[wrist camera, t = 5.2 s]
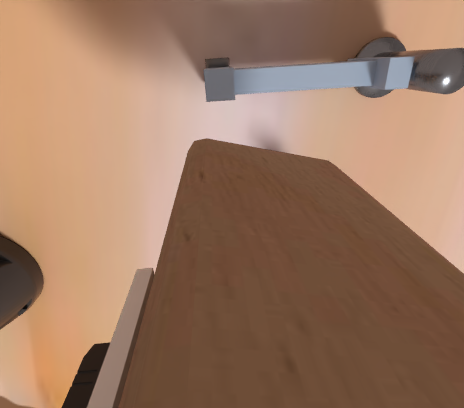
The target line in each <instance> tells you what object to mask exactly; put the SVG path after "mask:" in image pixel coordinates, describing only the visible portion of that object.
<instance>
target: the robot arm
mask: <svg viewBox="0 0 464 408" xmlns="http://www.w3.org/2000/svg"><path fill="white" fill-rule="evenodd" d="M153 279H154V271H153V268H146V269H137V271H136V274H135V276H134V279H133V282H132V285H131V287H130V290H129V293H128V296H127V298H126V301H125V304H124V307H123V309H122V312H121V315H120V318H119V321H118V323H117V326H116V329H115V332H114V334H113V337H112V340H111V343H101V344H94V345H93V346H92V348H91V349H90V350H89V351H88V353H87V354H86V355H85V356H84V358H83V360H82V362H81V365H80V367H79V369H78V371H77V372H78V373H77V374H76V376H75V378H74V381H73V383H72V387H70V390H69V392H68V394H67V397H66V399H65V401H64V404H63V406H62V408H119V404H120V401H121V397H122V393H123V389H124V386H125V382H126V378H127V375H128V371H129V367H130V364H131V360H132V356H133V353H134V349H135V345H136V342H137V338H138V334H139V330H140V327H141V323H142V319H143V316H144V312H145V308H146V305H147V301H148V297H149V294H150V290H151V286H152V283H153ZM43 283H44V281H43V275H42V272H41V270H40V268H39V266H38V264H37V263H36V261H35V260H34V259H33V258H32V257H31V256H30V254H28V253H27V252H26V251H25V250H24V249H23V248H21V247H20V246H18V245H17V244H15V243H13V242H12V241H10V240H8V239H6V238H3V237H1V236H0V329H2V328H3V327H5V326H6V325H7V324H9V323H10V322H12V321H13V320H14V319H16V318H17V317H18V316H20V315H21V314H23V313H24V312H25V311H27V310H28V309H29V308H30V307H31V306H32V304H33V303H34V302H35V300H36V299H37V298H38V296H39V295H40V294H41V292H42V289H43Z"/></svg>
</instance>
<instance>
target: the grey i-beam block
mask: <svg viewBox="0 0 464 408" xmlns="http://www.w3.org/2000/svg"><path fill="white" fill-rule="evenodd" d="M414 58H415V56H411V57H375V58H354V59H348V61H344V62H328V63H313V64H297V65H282V66H266V67H250V68H235V69H234V68H232V67H229V58H217V59H205V62H206V69H204V79H205V90H206V101H207V102H210V101H225V100H235V95H237V94H252V93H267V92H282V91H297V90H312V89H327V88H342V87H357V86H364V87H371V88H377V89H383V90H389V89H404V88H408V84H409V80H410V75H411V71H412V67H413V62H414Z"/></svg>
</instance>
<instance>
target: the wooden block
mask: <svg viewBox="0 0 464 408" xmlns="http://www.w3.org/2000/svg"><path fill="white" fill-rule="evenodd" d="M119 408H464V274H463V273H462V272H461V271H460V270H459V269H457V268H456V267H455V266H454V265H453V264H451V263H450V262H449V261H448V260H447V259H446V258H444V257H443V256H442V255H441V254H440V253H438V252H437V251H436V250H435V249H434V248H433V247H431V246H430V245H429V244H428V243H427V242H425V241H424V240H423V239H422V238H421V237H419V236H418V235H417V234H416V233H415V232H414V231H412V230H411V229H410V228H409V227H408V226H406V225H405V224H404V223H403V222H402V221H400V220H399V219H398V218H397V217H396V216H395V215H393V214H392V213H391V212H390V211H389V210H387V209H386V208H385V207H384V206H383V205H382V204H380V203H379V202H378V201H377V200H376V199H374V198H373V197H372V196H371V195H370V194H368V193H367V192H366V191H365V190H364V189H363V188H361V187H360V186H359V185H358V184H357V183H355V182H354V181H353V180H352V179H351V178H350V177H348V176H347V175H346V174H345V173H344V172H342V171H341V170H340V169H339V168H338V167H336V166H335V165H334V164H332V163H331V162H329V161H327V160H322V159H316V158H311V157H305V156H300V155H294V154H289V153H283V152H278V151H272V150H267V149H261V148H256V147H250V146H245V145H239V144H234V143H228V142H223V141H217V140H212V139H202V140H197V141H194V142H193V144H192V146H191V147H190V149H189V151H188V153H187V157H186V161H185V165H184V168H183V172H182V176H181V179H180V183H179V187H178V190H177V194H176V198H175V201H174V205H173V209H172V212H171V216H170V220H169V224H168V227H167V231H166V235H165V238H164V242H163V246H162V249H161V253H160V257H159V260H158V264H157V268H156V271H155V275H154V279H153V283H152V286H151V290H150V294H149V297H148V301H147V305H146V308H145V312H144V316H143V319H142V323H141V327H140V330H139V334H138V338H137V342H136V345H135V349H134V353H133V356H132V360H131V364H130V367H129V371H128V375H127V378H126V382H125V386H124V389H123V393H122V397H121V401H120V404H119Z"/></svg>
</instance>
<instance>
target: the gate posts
mask: <svg viewBox="0 0 464 408" xmlns="http://www.w3.org/2000/svg"><path fill="white" fill-rule="evenodd" d="M411 56H415V58H414V62H413V67H412V71H411V75H410V80H409V84H408V88H404V89H411V90H418V91H425V92H432V93H440V94H450V93H453V92H456V91H457V90H459V89H460V88H462V87H463V86H464V48H453V49H435V50H418V51H406V49H405V47H404V45H403V44H402V43H401V42H400V41H398V40H397V39H394V38H390V37H385V38H378V39H375V40H373V41H371V42H369V43H368V44H366V45H365V46H364V47H363V48H362V49H361V50H360V51H359V53H358V54H357V56H356V58H375V57H411ZM354 88H355V89H356V91H357V92H358V93H360V94H361V95H363V96H366V97H371V98H377V97H382V96H384V95H386V94H388V93H390V92H391V91H392V90H394V89H389V90H383V89H377V88H371V87H364V86H357V87H354Z"/></svg>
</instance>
